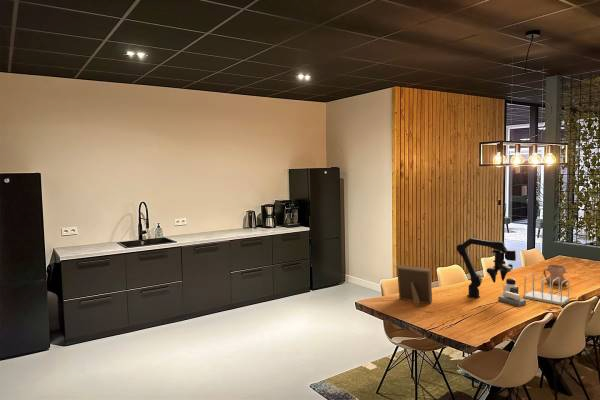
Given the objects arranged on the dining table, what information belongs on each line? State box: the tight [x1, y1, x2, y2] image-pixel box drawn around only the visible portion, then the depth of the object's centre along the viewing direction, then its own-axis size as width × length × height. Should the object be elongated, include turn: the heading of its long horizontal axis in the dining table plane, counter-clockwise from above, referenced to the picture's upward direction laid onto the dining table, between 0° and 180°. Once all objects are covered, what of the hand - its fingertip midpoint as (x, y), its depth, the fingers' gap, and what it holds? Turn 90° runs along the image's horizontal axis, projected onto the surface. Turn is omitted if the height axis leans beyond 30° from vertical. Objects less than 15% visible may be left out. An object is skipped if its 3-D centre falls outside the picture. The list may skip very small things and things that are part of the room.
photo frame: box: [396, 264, 433, 308], centre depth 303 cm, size 15×22×25 cm
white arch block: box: [504, 291, 521, 301], centre depth 302 cm, size 10×3×6 cm, turn 29°
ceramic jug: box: [542, 264, 570, 286], centre depth 346 cm, size 18×14×14 cm
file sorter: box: [522, 272, 571, 306], centre depth 309 cm, size 25×17×16 cm
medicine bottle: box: [502, 278, 519, 295], centre depth 318 cm, size 7×7×12 cm
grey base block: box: [497, 295, 527, 307], centre depth 302 cm, size 15×8×3 cm, turn 30°
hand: (498, 281), depth 307 cm, fingers open, 9 cm apart
